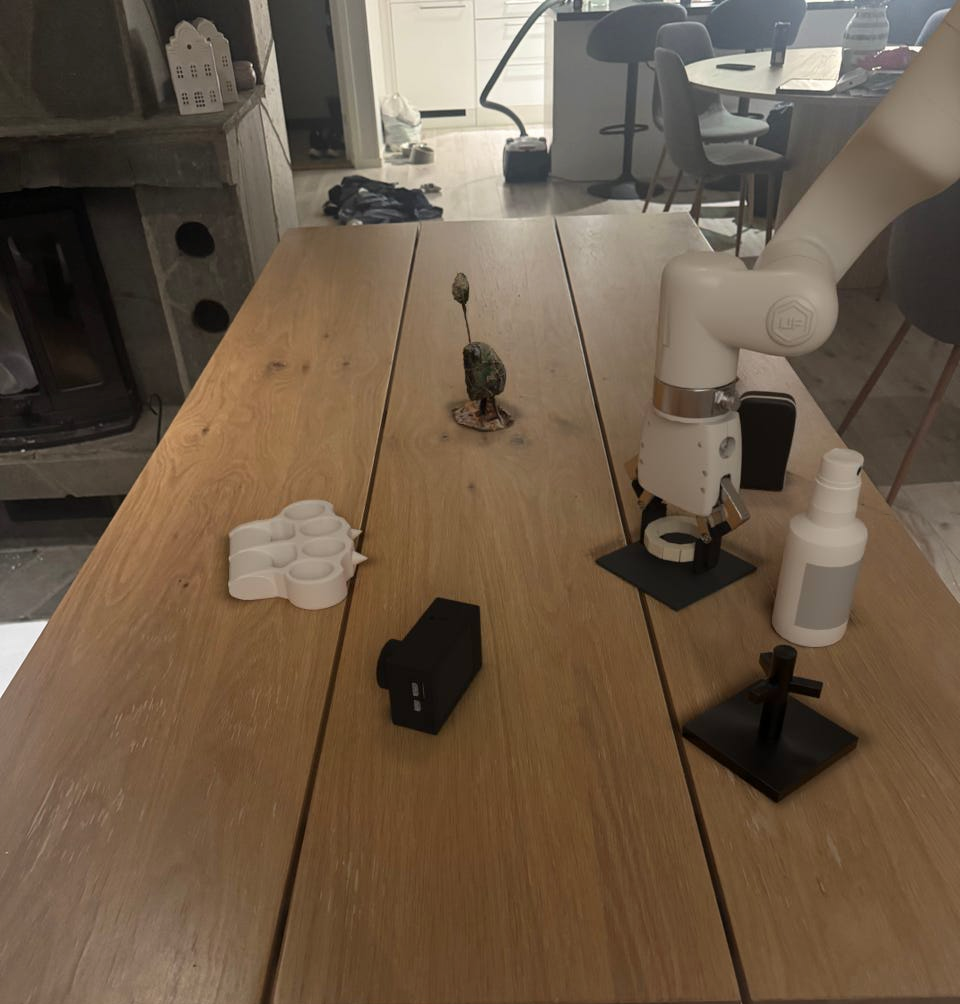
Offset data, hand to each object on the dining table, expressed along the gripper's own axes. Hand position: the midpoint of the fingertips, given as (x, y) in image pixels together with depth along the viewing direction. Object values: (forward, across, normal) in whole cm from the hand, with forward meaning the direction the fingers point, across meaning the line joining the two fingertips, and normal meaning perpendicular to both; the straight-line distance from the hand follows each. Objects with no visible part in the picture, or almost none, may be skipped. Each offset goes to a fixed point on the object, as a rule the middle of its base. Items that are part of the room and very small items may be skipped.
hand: (677, 553), depth 101 cm
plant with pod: (+2, +43, -7) cm, 44 cm away
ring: (-1, 0, 0) cm, 1 cm away
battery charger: (+2, +7, -21) cm, 22 cm away
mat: (+2, 0, 0) cm, 2 cm away
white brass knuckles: (+2, +26, +31) cm, 41 cm away
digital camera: (+2, -1, +32) cm, 32 cm away
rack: (+2, -24, +14) cm, 28 cm away
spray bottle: (+2, -16, -2) cm, 16 cm away
